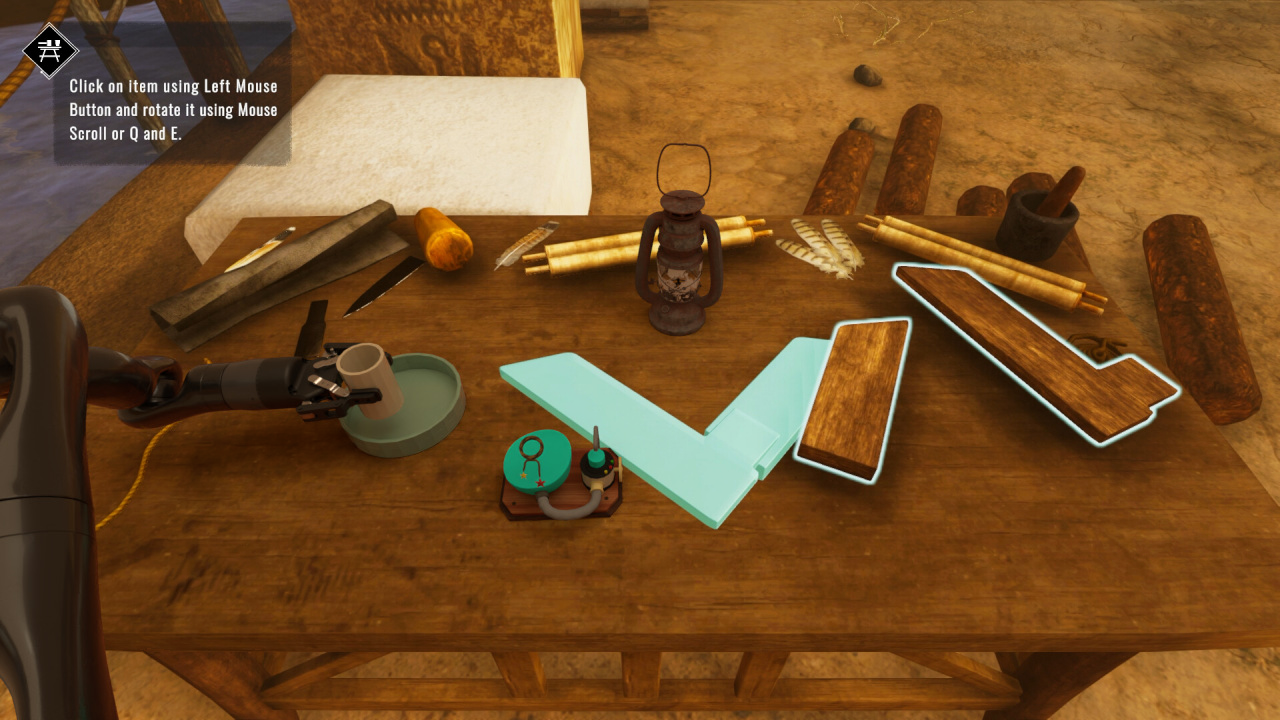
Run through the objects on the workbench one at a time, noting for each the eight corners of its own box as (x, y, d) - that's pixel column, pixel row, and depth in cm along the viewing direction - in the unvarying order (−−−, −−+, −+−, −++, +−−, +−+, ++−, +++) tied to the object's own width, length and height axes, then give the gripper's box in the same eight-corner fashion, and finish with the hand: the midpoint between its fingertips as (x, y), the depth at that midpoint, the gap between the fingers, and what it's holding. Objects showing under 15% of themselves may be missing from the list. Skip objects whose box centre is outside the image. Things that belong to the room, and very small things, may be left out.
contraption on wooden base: (624, 532, 80) (620, 472, 69) (495, 537, 80) (471, 478, 69) (622, 449, 90) (619, 385, 79) (507, 453, 89) (488, 390, 79)
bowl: (458, 452, 90) (451, 437, 87) (332, 462, 89) (322, 447, 86) (472, 365, 103) (467, 349, 100) (363, 372, 102) (355, 356, 99)
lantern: (640, 295, 116) (637, 124, 91) (720, 302, 115) (740, 130, 89) (631, 331, 109) (626, 156, 84) (717, 339, 107) (738, 163, 82)
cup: (399, 418, 86) (377, 373, 79) (356, 421, 86) (330, 376, 79) (408, 386, 91) (388, 341, 84) (366, 389, 90) (343, 344, 83)
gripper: (236, 405, 76) (365, 396, 76) (275, 331, 86) (388, 324, 86) (263, 439, 81) (383, 430, 82) (296, 366, 91) (403, 359, 92)
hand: (385, 376), depth 84 cm, fingers closed on cup, 6 cm apart
